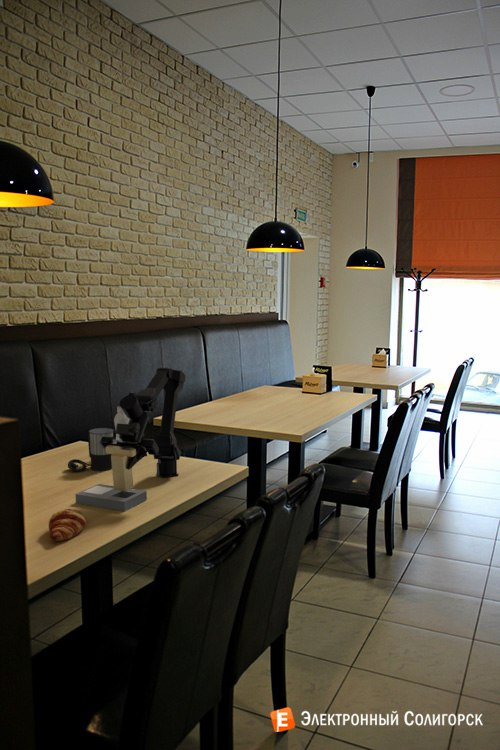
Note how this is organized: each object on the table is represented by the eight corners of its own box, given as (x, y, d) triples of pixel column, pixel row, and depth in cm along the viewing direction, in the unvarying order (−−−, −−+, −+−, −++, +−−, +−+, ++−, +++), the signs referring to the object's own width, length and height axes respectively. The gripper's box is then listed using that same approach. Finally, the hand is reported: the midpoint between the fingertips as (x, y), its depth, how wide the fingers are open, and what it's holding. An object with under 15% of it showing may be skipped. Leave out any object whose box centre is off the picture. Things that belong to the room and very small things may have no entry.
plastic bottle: (117, 456, 265) (116, 408, 262) (113, 453, 271) (111, 406, 268) (132, 455, 268) (131, 407, 265) (128, 451, 274) (126, 405, 271)
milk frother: (119, 467, 250) (118, 429, 248) (89, 476, 237) (88, 437, 235) (93, 462, 258) (92, 425, 256) (62, 471, 244) (61, 432, 243)
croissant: (69, 529, 194) (56, 506, 193) (98, 514, 193) (85, 491, 192) (46, 557, 173) (31, 531, 172) (78, 540, 172) (63, 514, 171)
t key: (114, 483, 210) (111, 444, 207) (140, 487, 206) (137, 447, 203) (106, 488, 206) (103, 448, 203) (133, 492, 202) (129, 452, 199)
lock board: (146, 499, 210) (146, 490, 210) (124, 511, 199) (124, 501, 199) (99, 492, 218) (99, 483, 217) (75, 503, 207) (75, 493, 207)
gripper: (101, 411, 209) (84, 453, 200) (154, 414, 204) (139, 457, 195) (114, 430, 218) (98, 470, 209) (165, 433, 212) (151, 475, 203)
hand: (121, 468), depth 204 cm, fingers closed on t key, 5 cm apart
